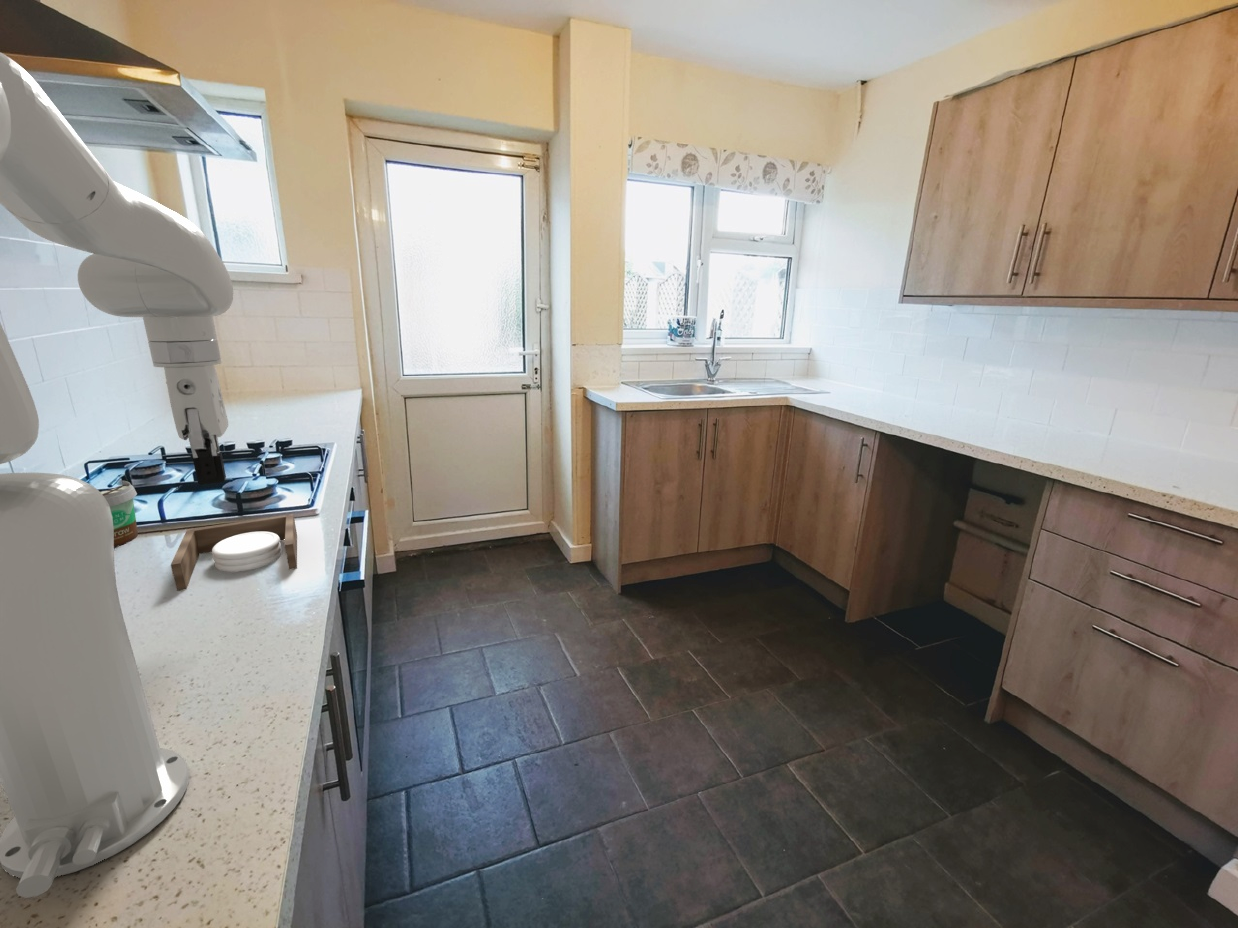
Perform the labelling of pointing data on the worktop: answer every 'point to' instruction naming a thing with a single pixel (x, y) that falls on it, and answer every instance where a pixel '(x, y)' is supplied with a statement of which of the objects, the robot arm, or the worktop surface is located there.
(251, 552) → the coaster
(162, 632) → the worktop surface
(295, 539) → the box
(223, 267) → the robot arm
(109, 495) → the food container
